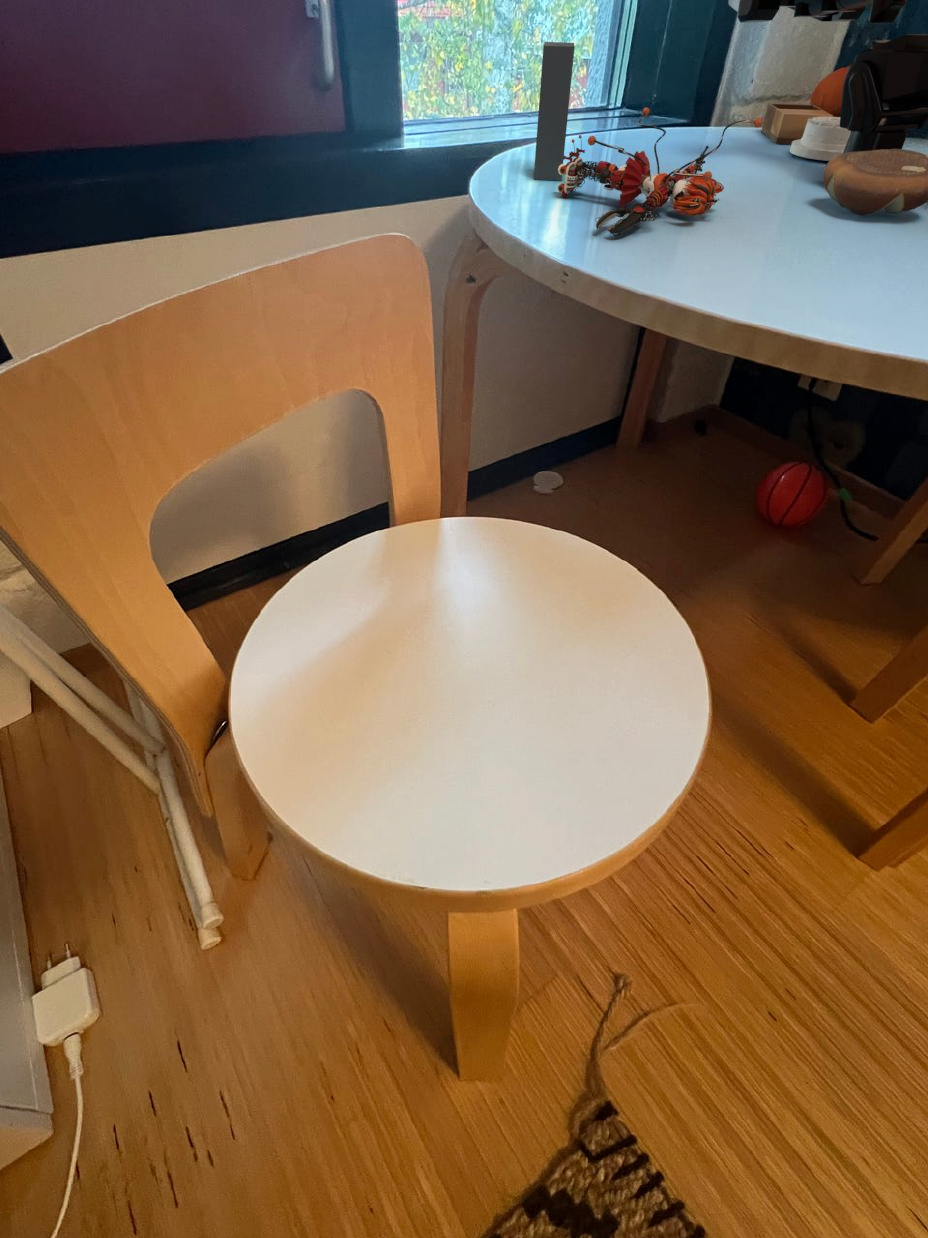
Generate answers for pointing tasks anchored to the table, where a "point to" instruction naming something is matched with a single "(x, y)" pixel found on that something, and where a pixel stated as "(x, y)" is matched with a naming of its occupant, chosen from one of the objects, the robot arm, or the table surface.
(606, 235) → the table surface
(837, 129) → the mechanical component
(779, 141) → the open wooden box
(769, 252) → the table surface
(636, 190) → the striped bug figure
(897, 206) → the bread
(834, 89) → the fruit
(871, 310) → the table surface
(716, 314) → the table surface
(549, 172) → the grey tall block
